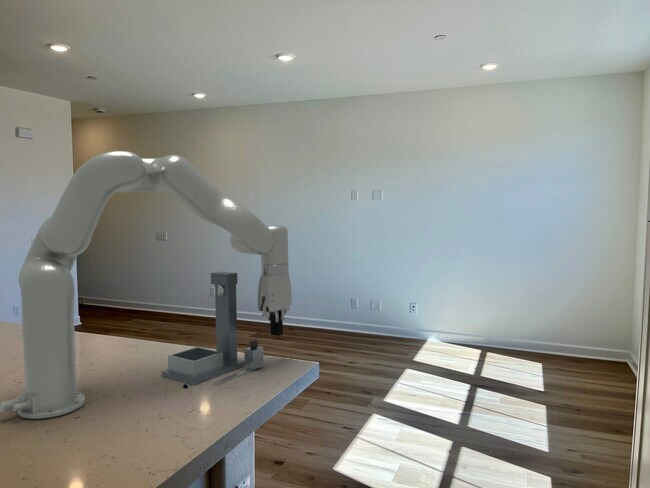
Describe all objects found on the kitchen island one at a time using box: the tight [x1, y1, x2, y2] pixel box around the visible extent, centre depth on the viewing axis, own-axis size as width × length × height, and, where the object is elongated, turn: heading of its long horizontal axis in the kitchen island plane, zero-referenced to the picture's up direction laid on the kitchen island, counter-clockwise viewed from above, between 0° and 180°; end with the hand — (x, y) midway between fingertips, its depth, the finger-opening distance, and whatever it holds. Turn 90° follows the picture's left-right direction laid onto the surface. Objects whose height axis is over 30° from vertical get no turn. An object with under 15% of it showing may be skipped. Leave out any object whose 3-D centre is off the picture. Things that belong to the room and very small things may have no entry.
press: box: [161, 271, 261, 386], centre depth 123 cm, size 19×17×25 cm
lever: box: [244, 339, 264, 371], centre depth 126 cm, size 4×3×7 cm
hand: (276, 334), depth 134 cm, fingers closed
